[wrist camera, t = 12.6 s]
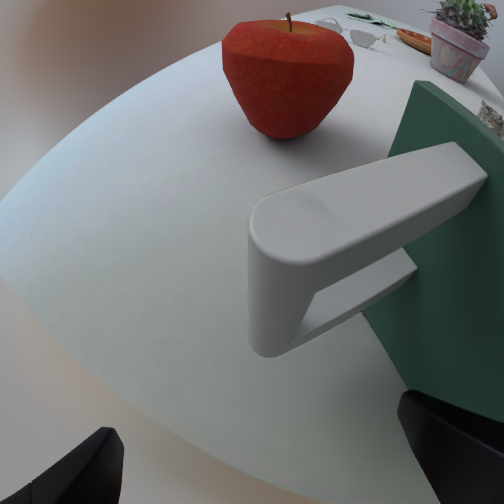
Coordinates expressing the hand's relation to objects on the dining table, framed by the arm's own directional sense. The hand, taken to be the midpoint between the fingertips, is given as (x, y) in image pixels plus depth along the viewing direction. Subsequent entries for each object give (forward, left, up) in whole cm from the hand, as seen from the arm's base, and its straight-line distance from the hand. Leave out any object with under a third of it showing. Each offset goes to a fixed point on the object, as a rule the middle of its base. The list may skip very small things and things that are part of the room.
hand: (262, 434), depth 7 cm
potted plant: (+74, -25, -7) cm, 78 cm away
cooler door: (+2, -5, -7) cm, 9 cm away
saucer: (+98, -26, -7) cm, 102 cm away
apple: (+24, +5, -7) cm, 25 cm away
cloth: (+124, -7, -7) cm, 124 cm away
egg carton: (+44, -27, -7) cm, 52 cm away
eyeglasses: (+78, -1, -7) cm, 78 cm away
